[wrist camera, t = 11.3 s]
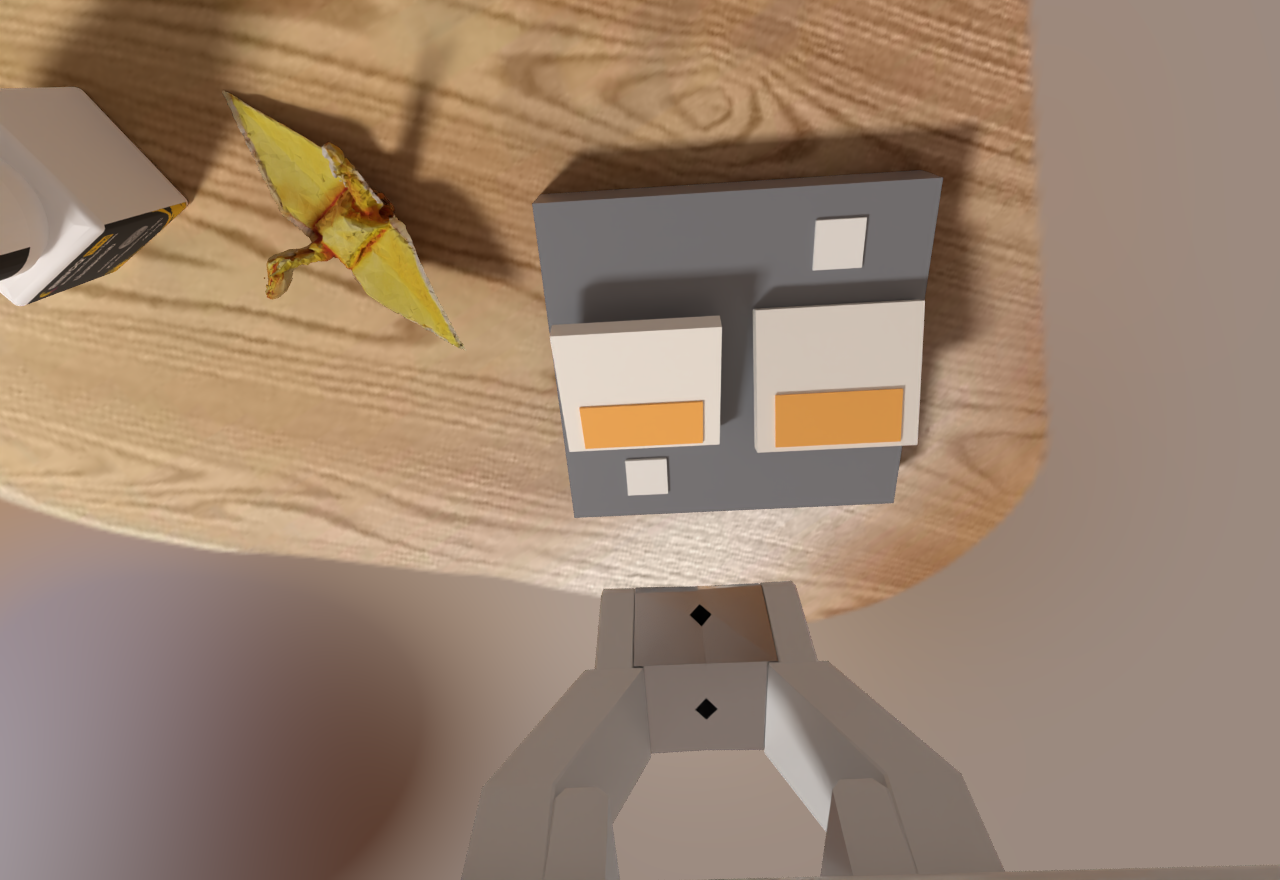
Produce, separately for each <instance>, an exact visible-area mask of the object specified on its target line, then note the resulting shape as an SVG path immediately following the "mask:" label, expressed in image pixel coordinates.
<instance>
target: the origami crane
mask: <svg viewBox="0 0 1280 880" xmlns="http://www.w3.org/2000/svg"><path fill="white" fill-rule="evenodd" d="M223 95H224V97H225V98H226V100H227V101H228V102H227V104H228V106H229V107H230V109H231V111H232V112H233V117H234V119H235V120H236V122H237V125H238V128H239V129H240V132H241V133H242V135H243V136H244V139H245V142H246V145H247V146H248V148H249V149H250V151H251V154H252V156H253V158H254V159H255V161H256V164H257V166H258V169H259V171H260V173H261V175H262V178H263V180H265V182H266V184H267V187H268V189H269V190H270V194H271V195H272V197H273V199H274V200H275V202H276V204H277V205H278V206H279V207H278V209H279V210H280V212H281V213H282V216H283V217H285V216H286V218H287V219H288V220H289V221H291V222H292V223H293V224H294V225H295V226H297V227H299V229H300V230H302V231H303V233H304V234H305V235H306V236H308V237H309V238H310V240H311V241H312V243H311V244H309V245H308V246H307V247H304V248H301V249H289V250H287V251H284V252H282V253H278V254H275V255H273V256H272V257H270V258H269V259H268V261H267V272H268V285H266V287H267V290H266V291H265V292H266V295H267V297H268V298H270V299H276V298H279V297H280V296H281V295H282V294H284V293H285V292H286V291H287V290H288V288H289V285H290V283H291V281H292V280H291V279H293V278H292V275H293V274H292V273H293V270H295V269H296V268H297V267H298V266H299V265H309V264H310V263H312V262H317V261H328V260H330V259H332V258H333V257H335V258H339V260H340V261H341V262H342V263H343V264H344V265H345V266H346V268H348V269H351V270H352V272H353V276H354V278H355V280H356V281H357V282H358V283H359V284H361V285H362V287H363V289H364V291H365V292H366V293H367V295H369V296H370V297H372V298H373V299H374V300H376V301H378V302H379V303H381V304H382V305H384V306H385V307H387V308H389V309H390V310H392V311H393V312H395V313H397V314H401V315H402V316H403V317H404V318H406V319H409V320H411V321H413V322H415V323H417V324H419V325H420V326H422V327H423V328H424V329H426V330H429V331H431V332H434V333H435V334H436V335H437V336H439V337H440V338H442V339H443V340H445V341H447V342H449V343H451V344H452V345H454V346H456V347H458V348H460V349H463V350H464V351H466V349H465V348H464V345H463V344H462V343H461V341H460V340H459V337H458V336H457V334H456V332H455V331H454V328H453V326H452V325H451V322H450V321H449V319H448V317H447V314H446V313H445V311H444V309H443V307H442V306H441V304H440V303H439V300H437V299H438V297H437V296H436V295H435V292H434V290H433V287H432V285H431V284H430V282H429V279H428V278H427V276H426V274H425V271H424V268H423V266H422V264H420V263H421V262H420V260H419V258H418V255H416V254H417V253H416V251H415V250H416V249H415V247H414V246H413V244H412V239H411V237H410V235H409V234H408V232H407V230H406V225H404V224H403V222H400V221H398V219H397V217H396V218H395V215H393V212H394V211H395V209H394V206H393V205H392V203H390V202H389V201H388V200H387V198H386V197H385V195H384V194H383V193H378V192H377V191H376V190H373V189H371V188H370V187H369V185H368V184H366V183H367V182H365V180H364V179H363V177H362V176H361V175H360V174H359V173H358V171H356V170H355V167H354V166H353V165H352V164H351V163H350V162H349V160H348V159H347V158H345V157H344V154H343V151H342V150H341V149H340V148H339V147H337V146H335V145H333V144H332V143H330V142H327V143H326V144H324V145H323V146H322V148H321V147H320V146H318V145H316V144H315V143H313V142H312V141H310V140H309V139H307V138H305V137H304V136H302V135H300V134H298V133H297V132H295V131H294V130H291V129H290V128H289V127H287V126H285V125H284V124H282V123H279V122H277V121H275V120H274V119H273V118H271V117H269V116H268V115H265V114H263V113H262V112H261V111H258V110H256V109H254V108H252V107H251V106H249V105H247V104H245V103H243V101H242V100H240V99H239V98H237V97H236V96H234V95H232V94H230V93H228V92H225V91H224V90H223ZM375 193H377V196H376V195H375ZM383 199H384V201H385V202H386V204H389V205H384V204H383V202H382V201H381V200H383ZM264 279H265V277H264Z"/></svg>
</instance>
